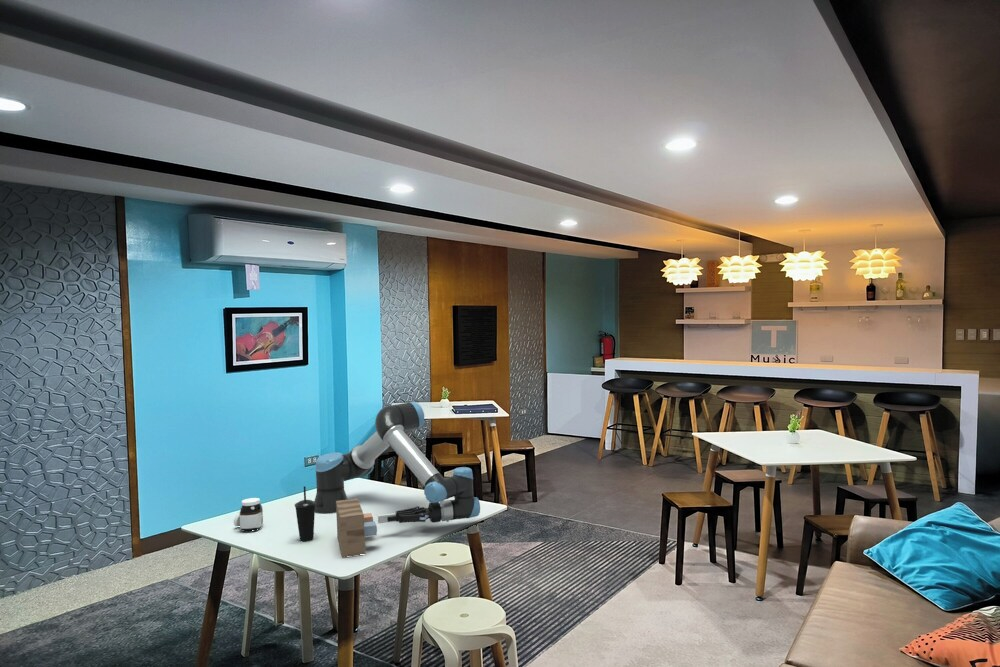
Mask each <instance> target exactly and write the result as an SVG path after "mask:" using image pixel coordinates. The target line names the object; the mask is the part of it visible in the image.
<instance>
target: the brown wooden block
mask: <svg viewBox="0 0 1000 667" xmlns="http://www.w3.org/2000/svg"><path fill="white" fill-rule="evenodd" d="M335 513H336V533H337V534H336V536H337V542H338V547H339V551H340V552H339V553H340V557H345V558H348V557H347V556H352V557H355V556H354V555H359V556H361V555H360V554H365V555H366V540H365V539H366V537H365V534H364V514H365V513H364V512H363V509H362V507H361V504H360V501H359V499H358V498H351V499H349V498H348V500H341V501H336V512H335Z"/></svg>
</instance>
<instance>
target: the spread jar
mask: <svg viewBox="0 0 1000 667" xmlns="http://www.w3.org/2000/svg"><path fill="white" fill-rule="evenodd" d="M263 512H264V511H263V506H262V504H261V499H260V498H259V497H250V498H245V499H243V500H241V507H240V511H239V512H237V514H236V516H235V517H234V519H233V526H235V527H236V526H240V527H239V528H240V530H241V531H242V530H244V531H252V530H257V529H260V528H261V527H262V528H263V526H264V513H263ZM262 528H261V529H262ZM261 529H260V530H261ZM244 531H243V532H244ZM257 531H258V530H257Z"/></svg>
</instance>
